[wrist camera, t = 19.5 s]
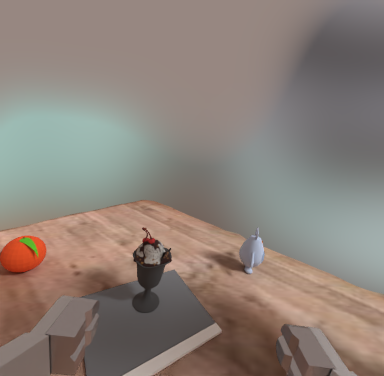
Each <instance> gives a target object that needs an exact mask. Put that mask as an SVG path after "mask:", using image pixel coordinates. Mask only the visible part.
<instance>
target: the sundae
mask: <svg viewBox="0 0 384 376" xmlns="http://www.w3.org/2000/svg"><path fill="white" fill-rule="evenodd" d="M142 229H143V230H144V231H145V230H146V228H142ZM147 232H148V231H147V230H146V233H147ZM148 233H149V232H148ZM148 233H147V236H146V238H144V239H143V243H142V244H141V245H140V246H139V247H138V248H137V249H136V250H135V251H134V253H133V257H134V262H137V277H138V282H139V284H140V285H141V286H142V287H143V288H145V290H144V291H143V292H140V293H138V294H137V295H135V297H134V298H133V302H132V304H133V307H134V308H135V309H136V310H137V311H138V312H141V313H149V312H152V311H154V310H155V309H156V308H157V307H158V305H159V297H158V296H157V295H156V294H155V293H154V292H152V291H151V289H152V288H154V287H156V286H157V285H158V284H159V282H160V280H161V277H162V274H163V271H164V267H165V265H166V264H168V263H170V262H171V261H172V260H171V253H170V250H171V248H170V249H169V250H168V249H166V248H164V247H163V246H164V245H163V244H162V243H161V242H160V241H158V240H155V239H154V238H151V235H150V233H149V235H150V239H149V238H147V237H148Z"/></svg>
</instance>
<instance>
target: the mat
mask: <svg viewBox="0 0 384 376" xmlns="http://www.w3.org/2000/svg"><path fill="white" fill-rule="evenodd" d="M144 290H145V288H143V287H142V286H141V285H140V284H139V282H138V280H137V281H134V282H130V283H127V284H124V285H120V286H117V287H113V288H110V289H106V290H103V291H100V292H96V293H93V294H89V295H86V296H82V297H79V298H85V299H92V300H98V301H100V302H99V309H98V311H97V314H98V315H99V322H98V327H97V330H96V333H95V335H94V337H93V339H92V342H91V343H90V344H89V345H88V346H86V347H85V356H84V360H85V369H86V376H153V375H155V374H156V373H158V372H159V371H161V370H163V369H164V368H166V367H167V366H169V365H171V364H172V363H174V362H175V361H177V360H179V359H180V358H182V357H183V356H185V355H187V354H188V353H190V352H191V351H193V350H195V349H196V348H198V347H199V346H201V345H203V344H204V343H206V342H207V341H209V340H211V339H212V338H214V337H215V336H217V335H219V334H220V333H222V330H221V328H220V327H219V326H218V325H217V323H215V321H214V320H213V319H212V317H211V316H210V315H209V314H208V312H207V311H206V310H205V308H204V307H203V306H202V305H201V303H200V302H199V301H198V299H197V298H196V297H195V296H194V294H193V293H192V292H191V290H190V289H189V288H188V287H187V285H186V284H185V283H184V281H183V280H182V279H181V278H180V276H179V275H178V274H177V272H176V271H175V270H172V271H168V272H165V273H163V274H162V277H161V280H160V282H159V284H158V285H157V286H156V287H154V288H152V289H151V291H152V292H154V293H155V294H156V295H157V296H158V297H159V305H158V307H157V308H156V309H155V310H154V311H152V312H149V313H141V312H138V311H137V310H136V309H135V308H134V307H133V304H132V302H133V298H134V297H135V295H137V294H138V293H140V292H143V291H144Z"/></svg>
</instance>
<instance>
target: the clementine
mask: <svg viewBox="0 0 384 376" xmlns="http://www.w3.org/2000/svg"><path fill="white" fill-rule="evenodd" d="M45 255H46V246H45V244H44V242H43V241H42V240H41V239H39V238H37V237H34V236H21V237H18V238H16V239H14V240H12V241H10V242H9V243H8V244H7V245H6V246H5V247H4V248H3V250H2V252H1V255H0V261H1V264H2V266H3V267H4V268H5V269H7V270H9V271H11V272H25V271H29V270H31V269H33V268H35V267H36V266H38V265H39V264H40V263H41V262H42V261H43V259H44V257H45Z"/></svg>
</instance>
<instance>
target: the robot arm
mask: <svg viewBox="0 0 384 376" xmlns="http://www.w3.org/2000/svg"><path fill="white" fill-rule="evenodd" d="M99 302H100V301H98V300H92V299H85V298H79V297H71V296H65V295H63V296H61V297H60V298H59V299H58V300H57V301H56V302H55V303H54V304H53V306H52V307H51V308H50V309H49V310H48V312H47V313H46V314H45V315H44V316H43V317H42V319H41V320H40V321H39V322H38V323H37V325H36V326H35V327H34V328H33V329H32V330H31V332H30V333H24V334H22V335H20V336H19V337H17V338H15V339H13V340H12V341H10V342H8V343H7V344H5V345H3V346H2V347H0V376H50V374H62V375H75V374H76V372H77V370H78V368H79V366H80V364H81V362H82V360H83V358H84V356H85V347H86V346H88V345H89V344H90V343H91V342H92V339H93V337H94V335H95V333H96V330H97V327H98V322H99V315H98V314H97V311H98V309H99ZM281 332H282V334H283V335H282V336H280V337H279V338H278V340H277V343H276V352H277V357H278V360H279V363H280V365H281V366H282V368H283V369H284V370H285V371H286V372H287V374H286V376H358V375H356V374H355V373H354V372H351V371H349V370H348V368H347V367H346V366H345V364H344V363H343V361H342V360H341V358H340V357H339V355H338V354H337V352H336V351H335V349H334V348H333V347H332V345H331V344H330V342H329V341H328V339H327V338H326V336H325V335H324V333H323V332H322V331H321V330H320V329H319V328H313V327H305V326H297V325H289V324H284V325H283V326H282V328H281Z"/></svg>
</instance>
